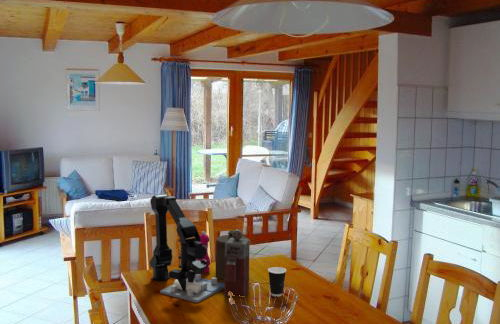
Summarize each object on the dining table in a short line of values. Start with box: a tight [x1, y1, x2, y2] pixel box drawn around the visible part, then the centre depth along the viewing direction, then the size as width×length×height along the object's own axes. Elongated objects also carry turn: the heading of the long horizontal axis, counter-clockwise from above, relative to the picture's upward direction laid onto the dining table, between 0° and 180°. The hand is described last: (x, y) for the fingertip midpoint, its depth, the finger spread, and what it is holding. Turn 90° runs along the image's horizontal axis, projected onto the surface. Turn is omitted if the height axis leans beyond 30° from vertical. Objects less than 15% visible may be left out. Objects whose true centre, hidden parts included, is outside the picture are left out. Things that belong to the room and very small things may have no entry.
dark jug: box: [223, 228, 251, 297], centre depth 215 cm, size 9×11×28 cm
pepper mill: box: [197, 230, 211, 274], centre depth 245 cm, size 7×7×20 cm
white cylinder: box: [173, 279, 201, 294], centre depth 216 cm, size 12×4×4 cm, turn 59°
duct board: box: [159, 273, 225, 304], centre depth 220 cm, size 20×22×4 cm
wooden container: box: [215, 229, 248, 281], centre depth 239 cm, size 15×15×22 cm
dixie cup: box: [267, 266, 287, 298], centre depth 216 cm, size 8×8×11 cm
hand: (187, 288), depth 216 cm, fingers closed on white cylinder, 4 cm apart
